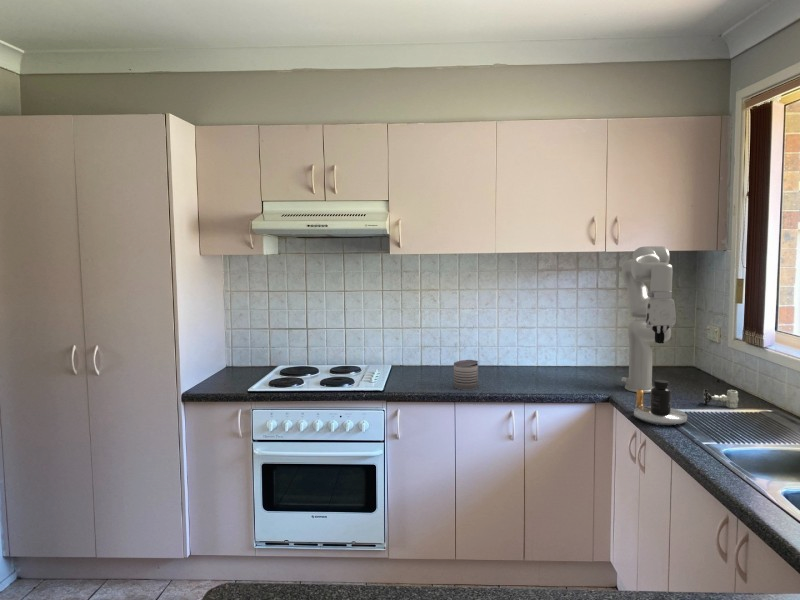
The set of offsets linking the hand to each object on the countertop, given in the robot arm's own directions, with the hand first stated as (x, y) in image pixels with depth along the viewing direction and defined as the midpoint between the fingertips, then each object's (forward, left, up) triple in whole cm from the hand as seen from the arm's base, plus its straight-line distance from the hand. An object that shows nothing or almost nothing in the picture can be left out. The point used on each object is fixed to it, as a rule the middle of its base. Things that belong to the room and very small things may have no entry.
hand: (659, 342), depth 218 cm
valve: (+12, +26, -28) cm, 40 cm away
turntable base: (+6, -10, -27) cm, 30 cm away
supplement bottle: (+6, -10, -25) cm, 27 cm away
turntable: (+5, -9, -26) cm, 28 cm away
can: (-76, -31, -27) cm, 86 cm away
